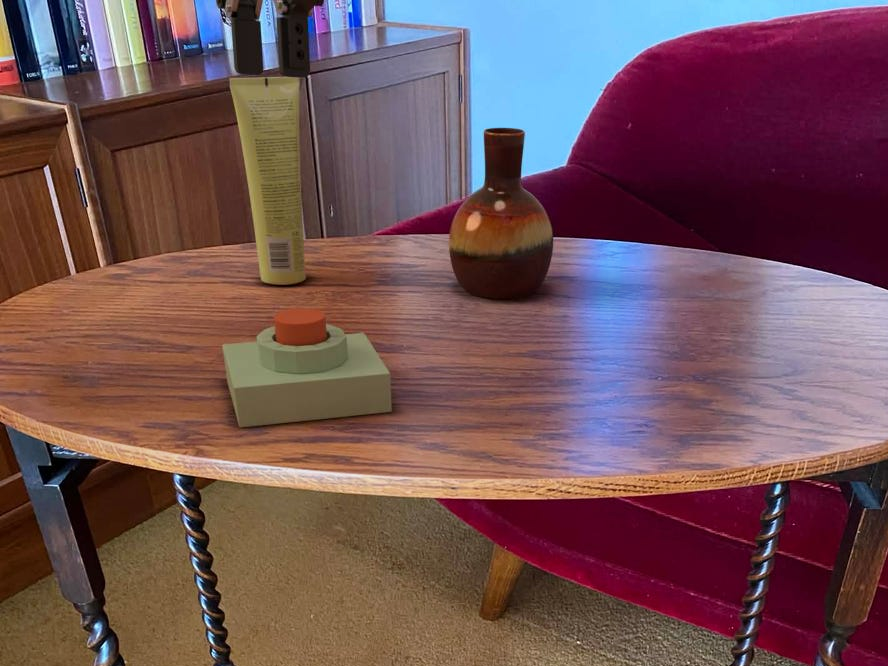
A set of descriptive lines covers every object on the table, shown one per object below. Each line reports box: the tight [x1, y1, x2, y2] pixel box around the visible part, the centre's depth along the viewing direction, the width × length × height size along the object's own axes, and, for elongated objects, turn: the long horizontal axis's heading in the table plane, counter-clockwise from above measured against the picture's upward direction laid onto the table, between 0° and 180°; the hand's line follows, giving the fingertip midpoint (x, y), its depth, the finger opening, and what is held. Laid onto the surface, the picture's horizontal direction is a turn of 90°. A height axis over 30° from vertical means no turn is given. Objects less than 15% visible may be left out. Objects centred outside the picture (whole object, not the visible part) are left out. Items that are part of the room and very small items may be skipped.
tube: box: [229, 76, 307, 286], centre depth 100 cm, size 6×5×20 cm
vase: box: [448, 127, 554, 300], centre depth 100 cm, size 11×11×15 cm
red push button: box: [273, 307, 327, 346], centre depth 76 cm, size 4×4×2 cm
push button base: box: [221, 323, 393, 429], centre depth 78 cm, size 12×10×5 cm
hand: (271, 75), depth 75 cm, fingers open, 8 cm apart
